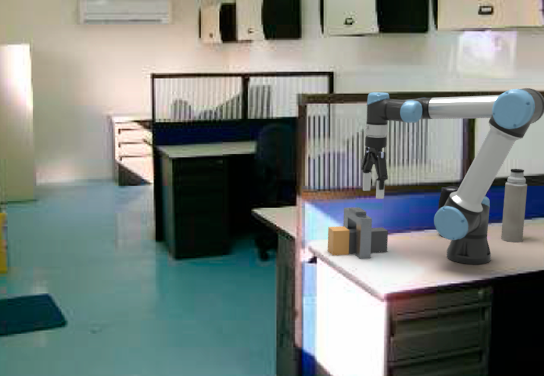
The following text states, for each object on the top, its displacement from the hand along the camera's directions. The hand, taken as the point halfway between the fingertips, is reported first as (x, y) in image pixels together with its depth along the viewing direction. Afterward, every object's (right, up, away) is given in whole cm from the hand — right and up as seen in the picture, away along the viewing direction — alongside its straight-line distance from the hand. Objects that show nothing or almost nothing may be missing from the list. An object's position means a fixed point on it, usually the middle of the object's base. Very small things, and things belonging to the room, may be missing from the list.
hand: (372, 194), depth 254 cm
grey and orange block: (-5, -21, +3) cm, 22 cm away
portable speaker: (+34, -17, +26) cm, 46 cm away
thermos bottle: (+58, -18, +22) cm, 64 cm away
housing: (-6, -21, +2) cm, 22 cm away
